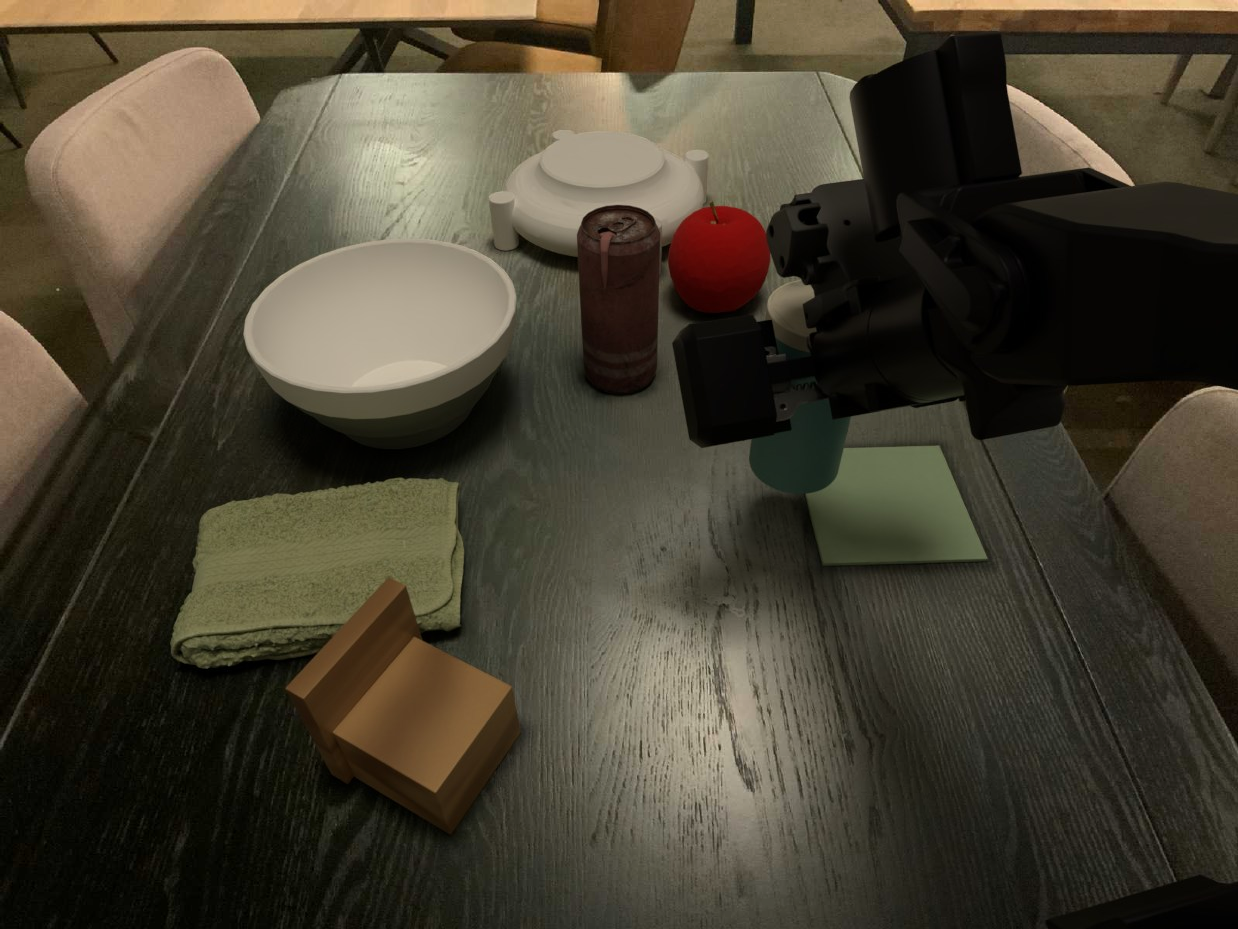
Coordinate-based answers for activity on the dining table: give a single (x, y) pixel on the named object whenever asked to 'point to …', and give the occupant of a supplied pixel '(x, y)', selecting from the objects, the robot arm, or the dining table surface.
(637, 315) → the can
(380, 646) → the stepped wooden block
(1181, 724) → the dining table surface
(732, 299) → the fruit
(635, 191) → the round stand with pegs
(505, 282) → the bowl
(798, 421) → the teal cup
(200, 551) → the washcloth
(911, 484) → the mat
